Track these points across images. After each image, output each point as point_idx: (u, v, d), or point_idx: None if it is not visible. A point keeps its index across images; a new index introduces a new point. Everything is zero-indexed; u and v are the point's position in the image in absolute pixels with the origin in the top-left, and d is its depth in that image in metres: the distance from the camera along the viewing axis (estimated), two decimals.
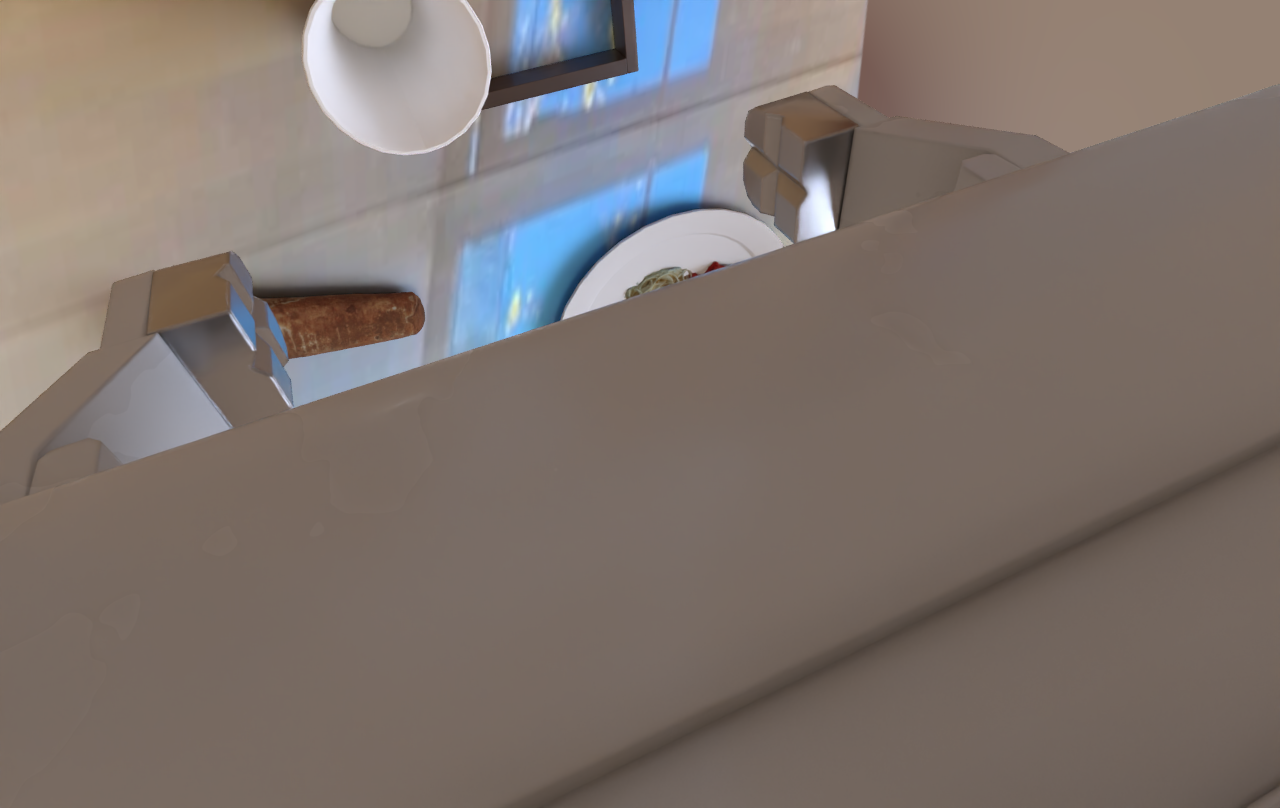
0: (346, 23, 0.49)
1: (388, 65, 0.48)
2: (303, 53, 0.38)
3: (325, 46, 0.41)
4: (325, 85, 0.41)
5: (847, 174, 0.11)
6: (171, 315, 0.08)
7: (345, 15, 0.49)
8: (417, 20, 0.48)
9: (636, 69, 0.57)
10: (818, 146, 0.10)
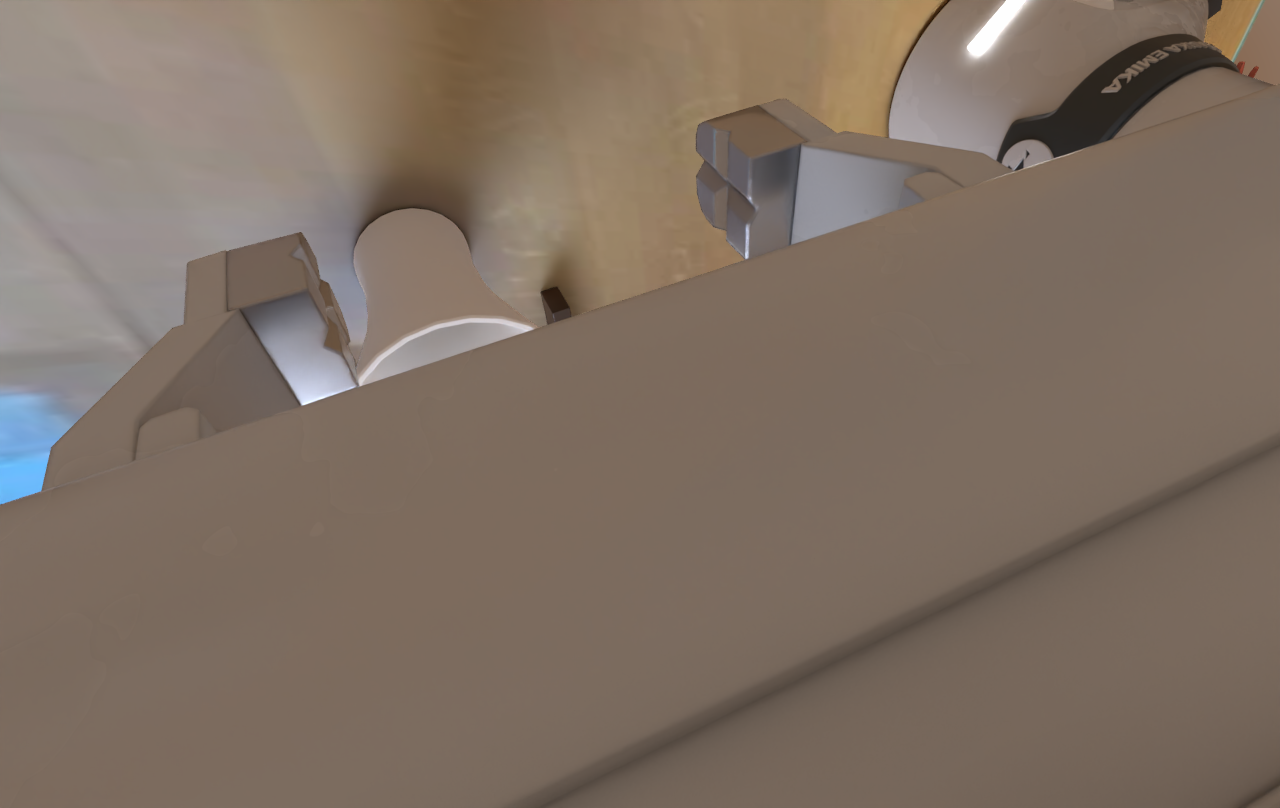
0: None
1: None
2: (479, 317, 0.29)
3: None
4: None
5: (796, 189, 0.11)
6: (250, 293, 0.09)
7: None
8: None
9: None
10: (764, 162, 0.10)
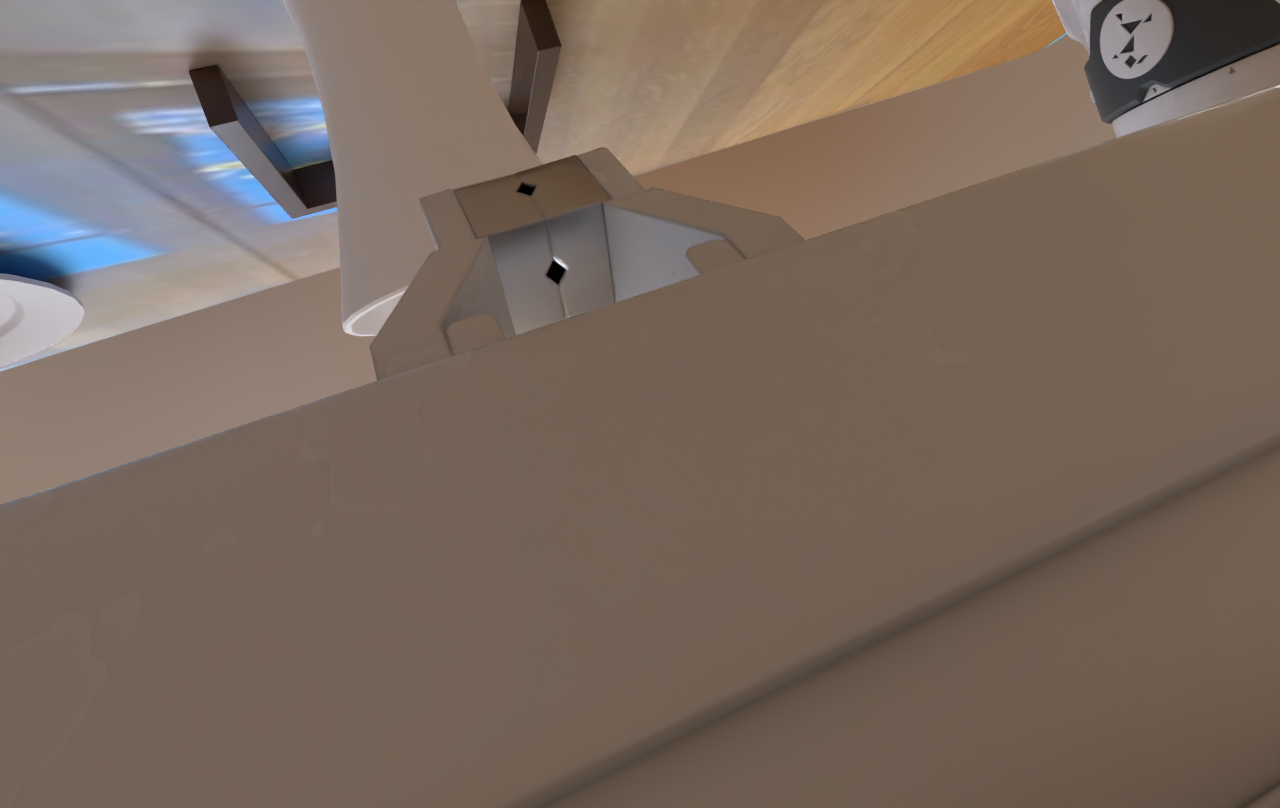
0: None
1: None
2: None
3: None
4: None
5: (609, 248, 0.10)
6: (492, 223, 0.09)
7: None
8: None
9: (293, 217, 0.44)
10: (563, 221, 0.09)
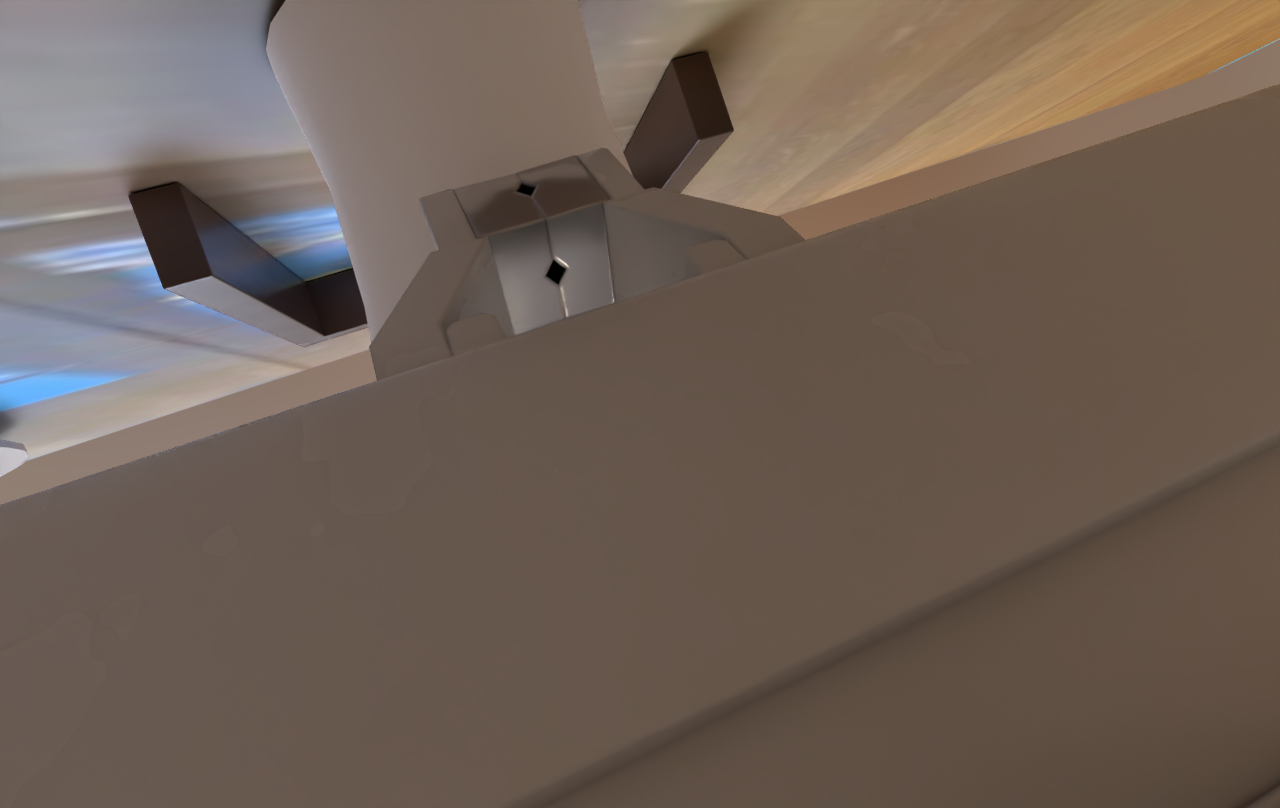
0: None
1: None
2: None
3: None
4: None
5: (609, 248, 0.10)
6: (492, 223, 0.09)
7: None
8: None
9: (305, 346, 0.31)
10: (563, 221, 0.09)
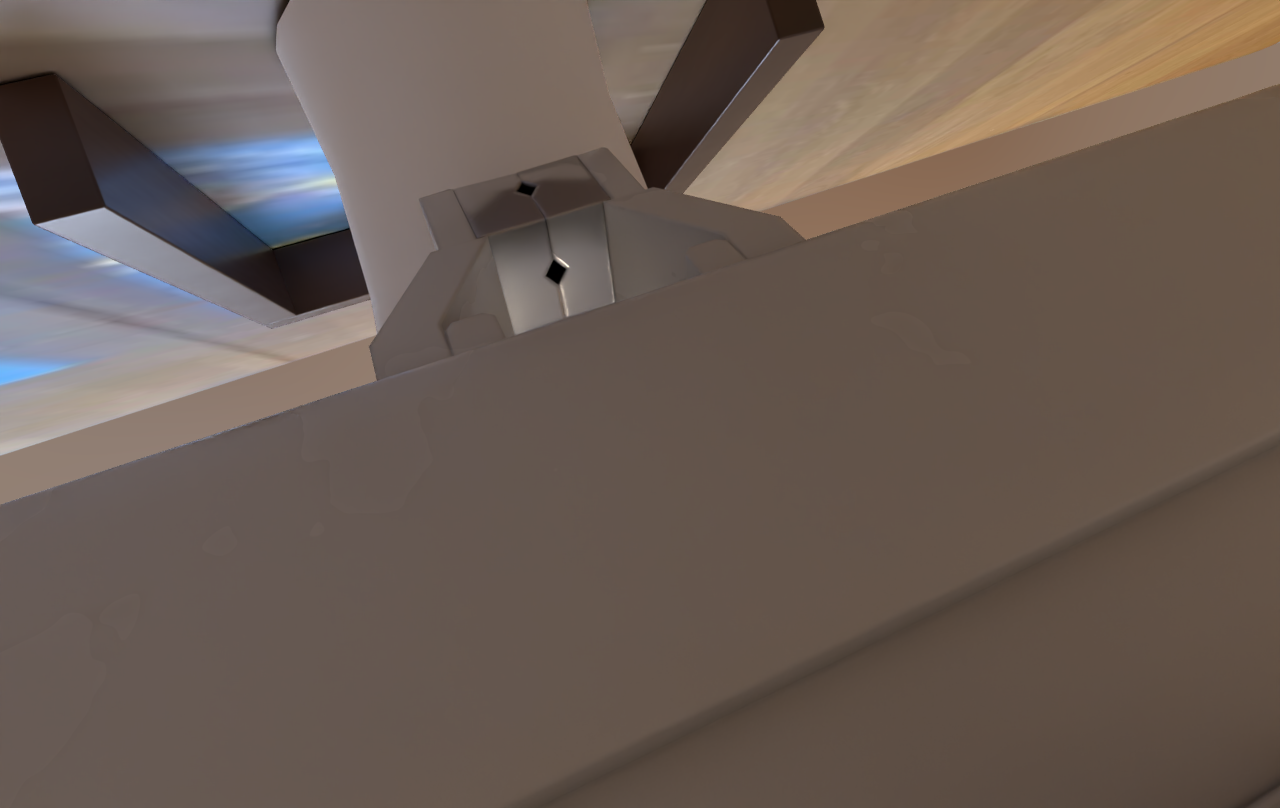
0: None
1: None
2: None
3: None
4: None
5: (609, 247, 0.10)
6: (491, 223, 0.09)
7: None
8: None
9: (274, 327, 0.26)
10: (564, 221, 0.09)
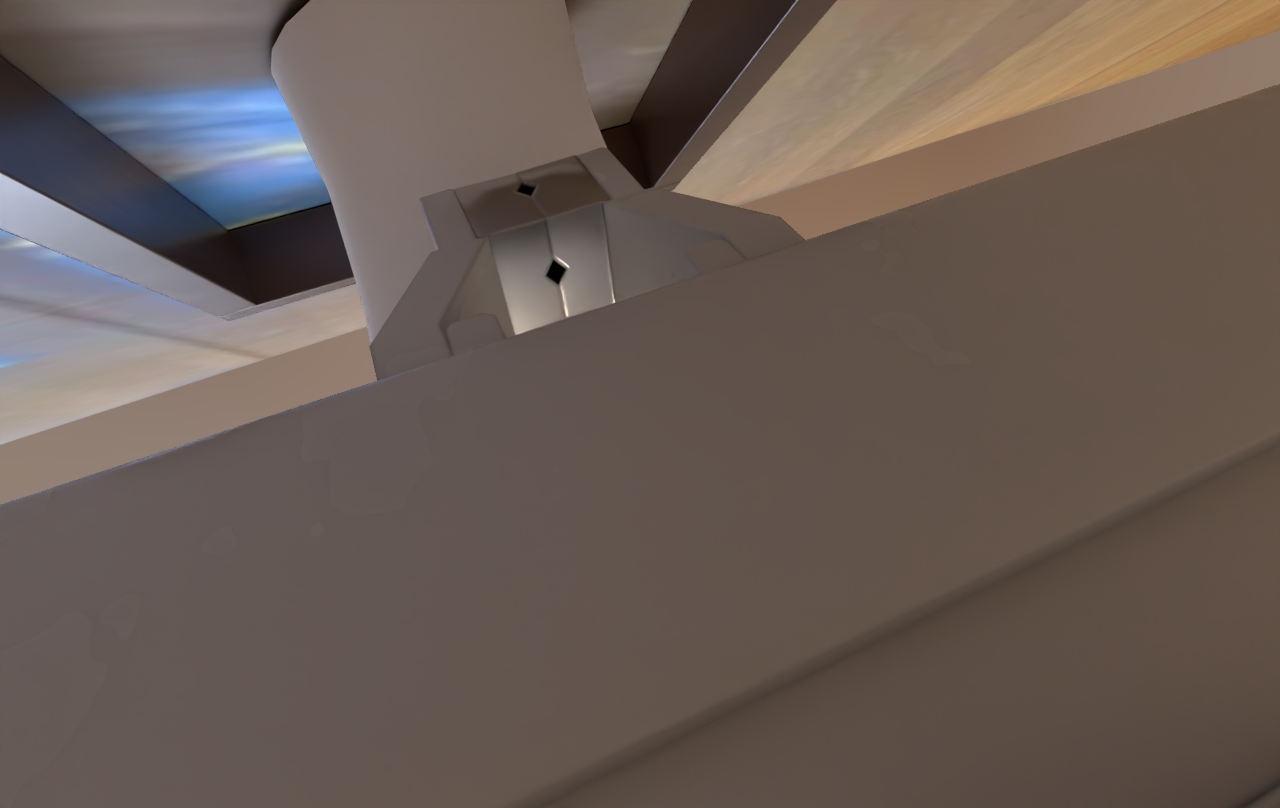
0: None
1: None
2: None
3: None
4: None
5: (609, 247, 0.10)
6: (491, 223, 0.09)
7: None
8: None
9: (231, 319, 0.23)
10: (563, 221, 0.09)
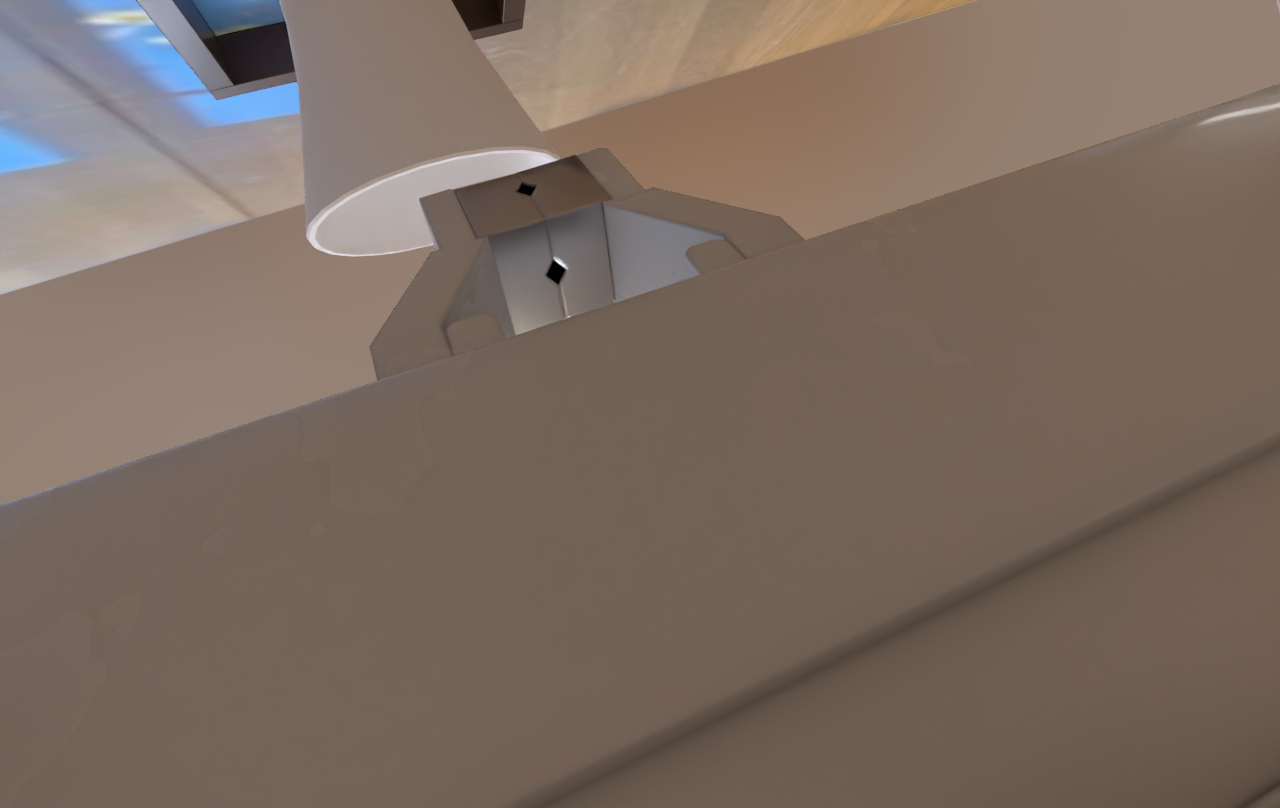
0: None
1: None
2: (468, 153, 0.24)
3: None
4: None
5: (609, 247, 0.10)
6: (492, 223, 0.09)
7: None
8: None
9: (218, 98, 0.35)
10: (563, 221, 0.09)
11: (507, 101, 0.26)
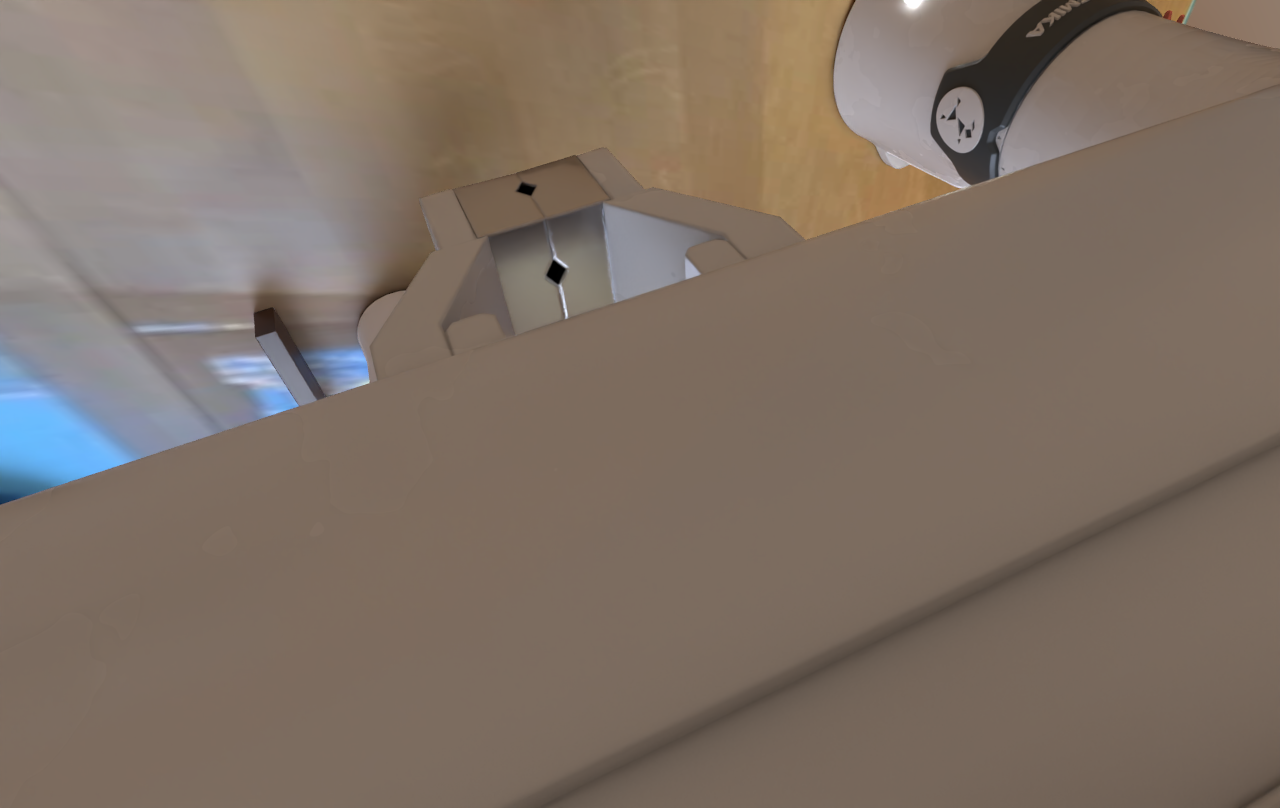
0: None
1: None
2: None
3: None
4: None
5: (609, 247, 0.10)
6: (492, 223, 0.09)
7: None
8: None
9: None
10: (563, 221, 0.09)
11: None
